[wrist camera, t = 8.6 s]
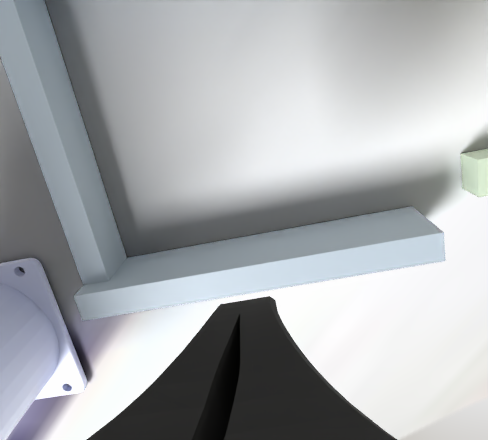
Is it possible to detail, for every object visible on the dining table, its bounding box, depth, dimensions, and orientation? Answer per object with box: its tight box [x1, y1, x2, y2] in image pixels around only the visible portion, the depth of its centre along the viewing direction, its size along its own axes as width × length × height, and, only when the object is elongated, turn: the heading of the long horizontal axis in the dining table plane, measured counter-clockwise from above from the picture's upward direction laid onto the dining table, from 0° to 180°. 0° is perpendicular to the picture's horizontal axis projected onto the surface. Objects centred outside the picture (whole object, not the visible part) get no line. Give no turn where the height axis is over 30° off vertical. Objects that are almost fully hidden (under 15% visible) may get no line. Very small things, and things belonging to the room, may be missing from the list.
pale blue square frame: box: [0, 0, 445, 321], centre depth 16 cm, size 15×14×4 cm
